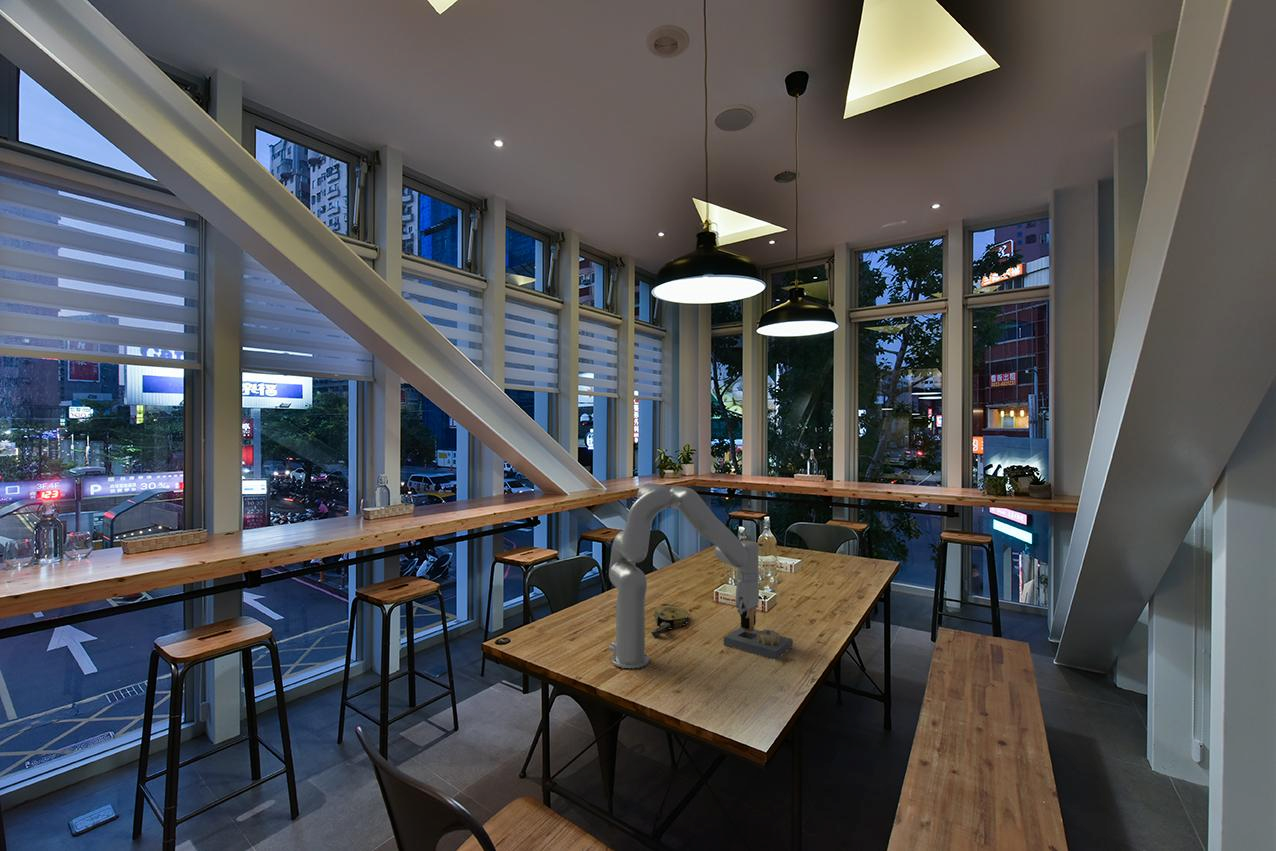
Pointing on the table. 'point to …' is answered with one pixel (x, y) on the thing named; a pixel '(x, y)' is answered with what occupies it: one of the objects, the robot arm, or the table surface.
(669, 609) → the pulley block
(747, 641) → the housing
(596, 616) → the table surface
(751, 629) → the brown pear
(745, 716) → the table surface
